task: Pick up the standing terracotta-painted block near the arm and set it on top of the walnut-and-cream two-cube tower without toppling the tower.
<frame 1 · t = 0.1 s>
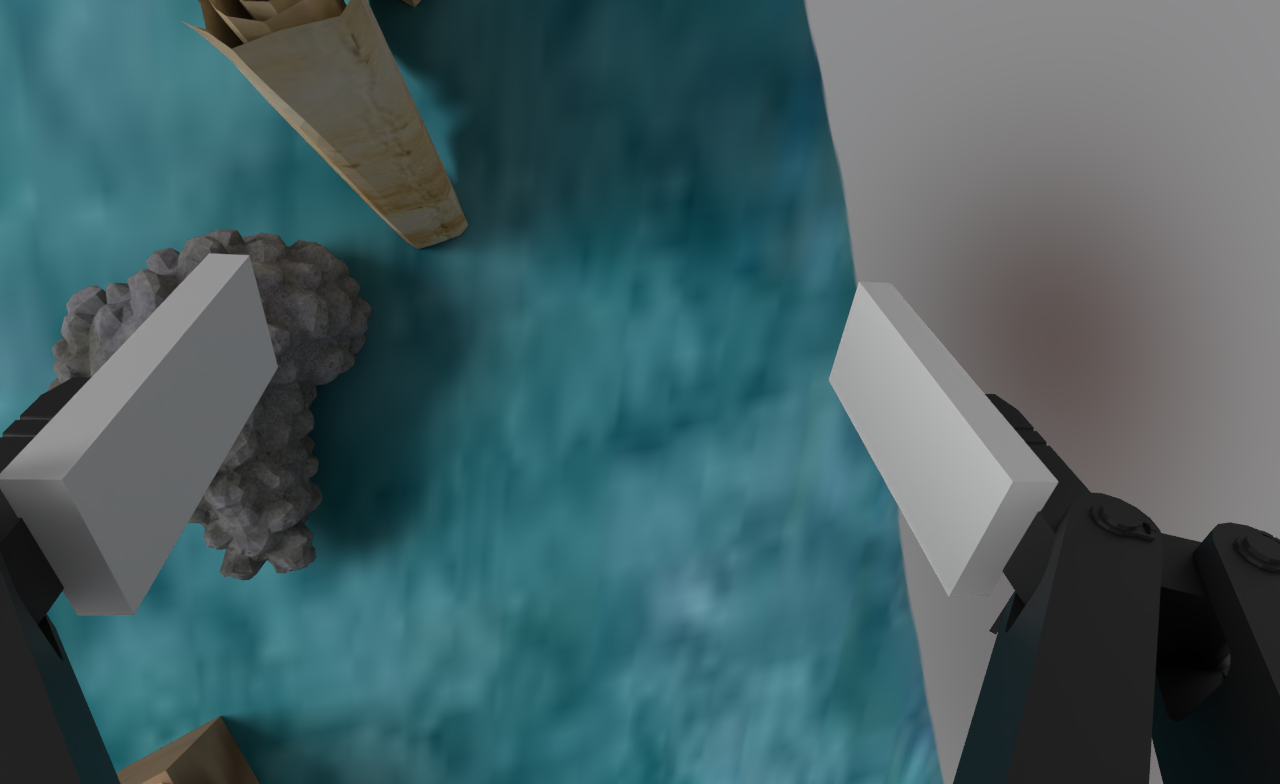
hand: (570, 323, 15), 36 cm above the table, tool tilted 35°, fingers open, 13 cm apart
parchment: (419, 86, 50), on the table
rock: (267, 409, 49), on the table
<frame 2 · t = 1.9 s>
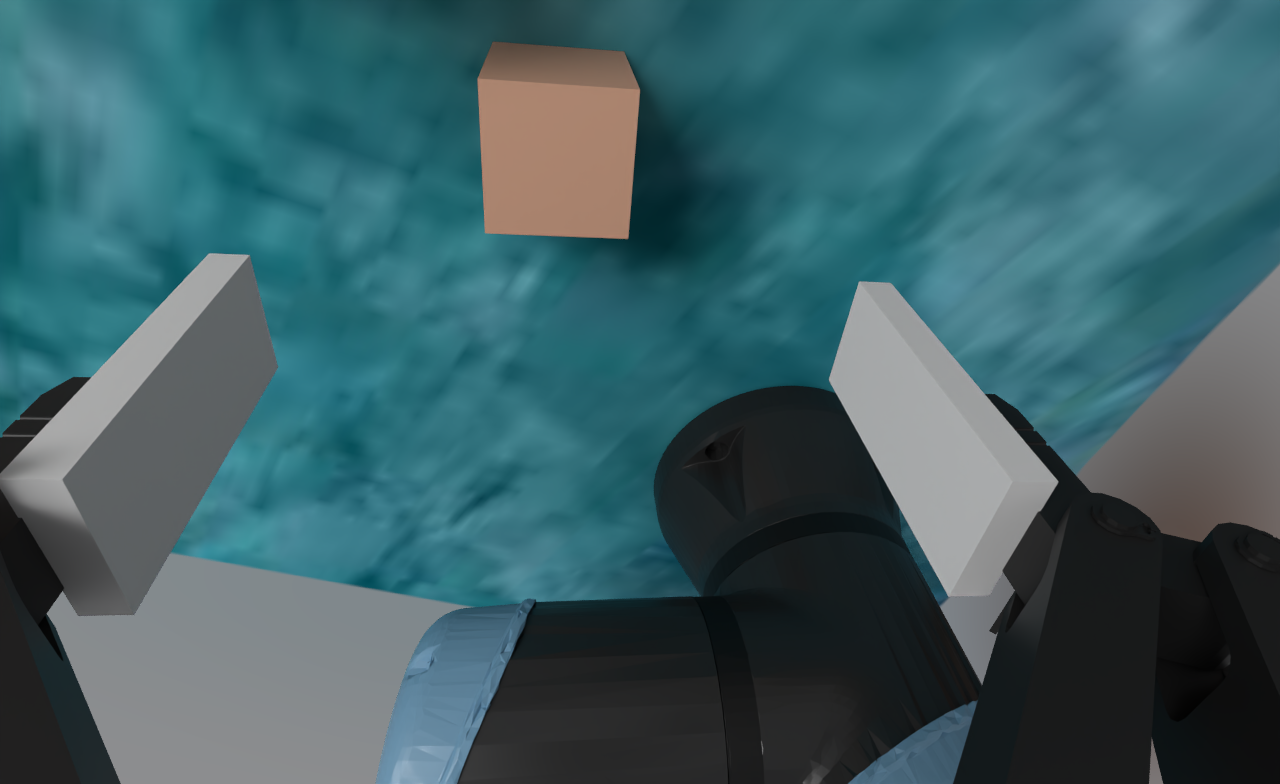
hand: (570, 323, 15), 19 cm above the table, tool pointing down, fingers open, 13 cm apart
terracotta block: (558, 114, 31), on the table
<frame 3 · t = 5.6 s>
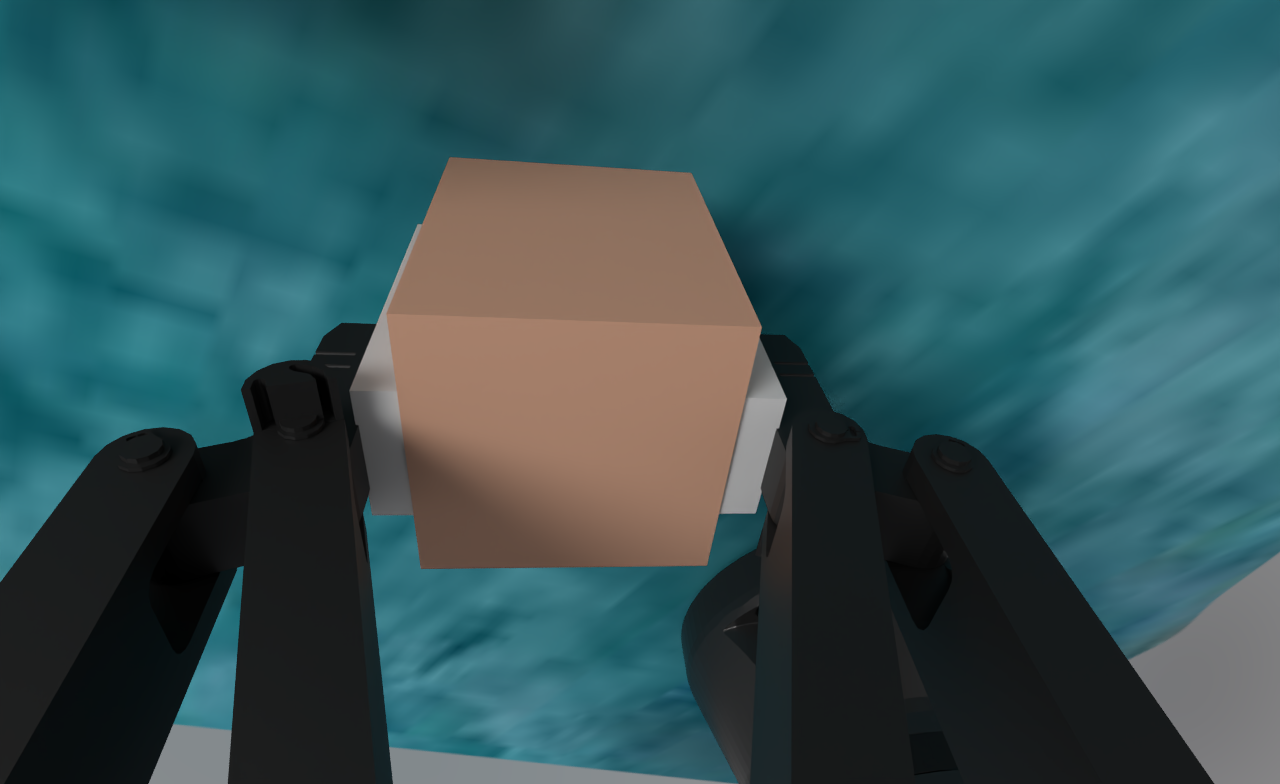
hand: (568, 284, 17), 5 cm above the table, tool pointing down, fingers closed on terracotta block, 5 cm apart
terracotta block: (568, 274, 17), point 4 cm above the table, touching gripper
when the fingers open (14 cm above the table, at t = 9.9 s): terracotta block stays where it is, resting on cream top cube.
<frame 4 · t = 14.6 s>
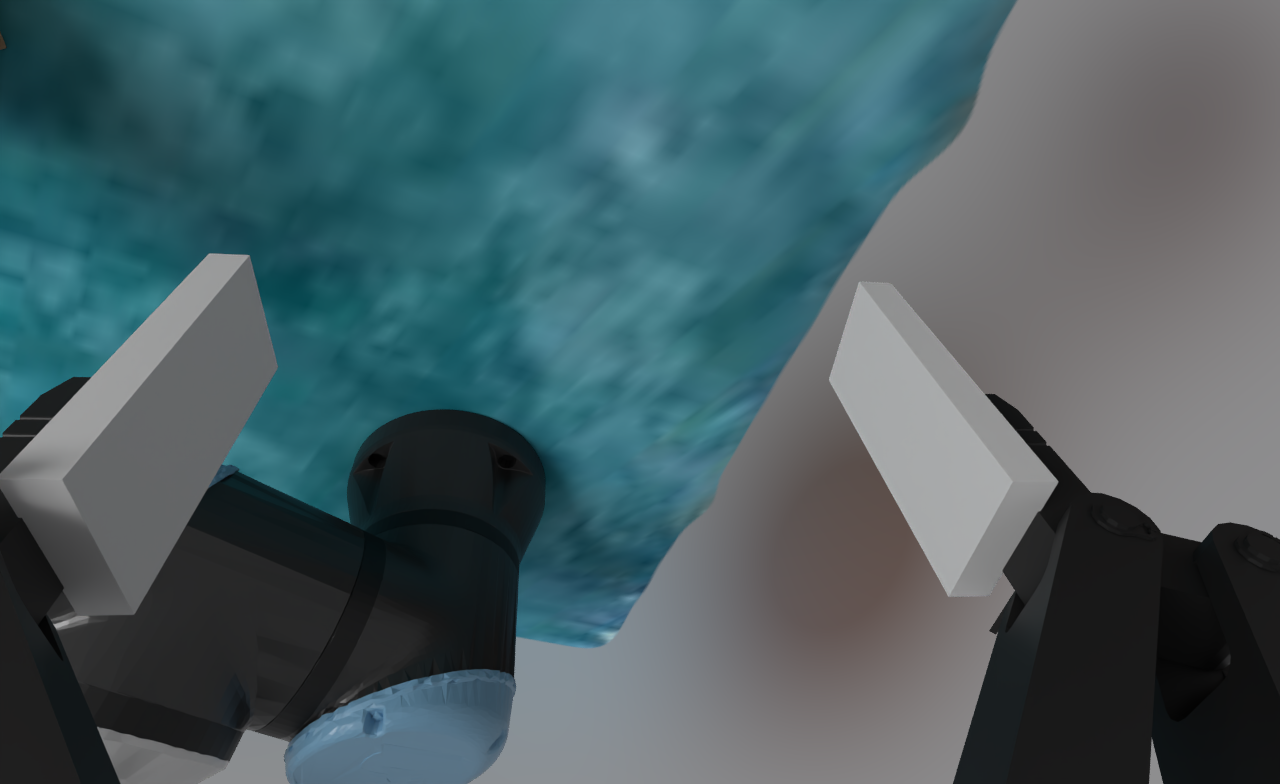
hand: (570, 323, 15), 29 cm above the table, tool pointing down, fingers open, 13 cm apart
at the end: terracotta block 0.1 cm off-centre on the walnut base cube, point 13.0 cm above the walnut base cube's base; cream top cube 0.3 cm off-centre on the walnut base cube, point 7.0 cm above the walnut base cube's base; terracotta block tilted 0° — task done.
